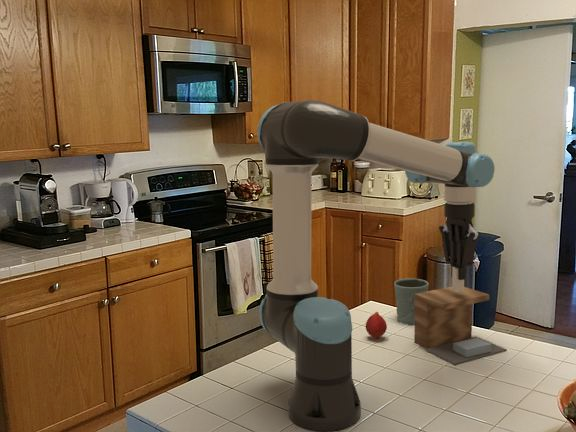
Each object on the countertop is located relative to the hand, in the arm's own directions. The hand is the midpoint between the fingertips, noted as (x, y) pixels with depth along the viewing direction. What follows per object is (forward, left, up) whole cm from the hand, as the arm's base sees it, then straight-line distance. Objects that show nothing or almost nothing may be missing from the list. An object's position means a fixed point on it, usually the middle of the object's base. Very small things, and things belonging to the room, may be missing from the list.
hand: (458, 290), depth 151 cm
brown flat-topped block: (0, +2, -16) cm, 16 cm away
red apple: (-15, +16, -16) cm, 27 cm away
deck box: (0, -5, -13) cm, 14 cm away
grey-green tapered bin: (+3, +23, -16) cm, 28 cm away
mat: (0, -3, -16) cm, 16 cm away
